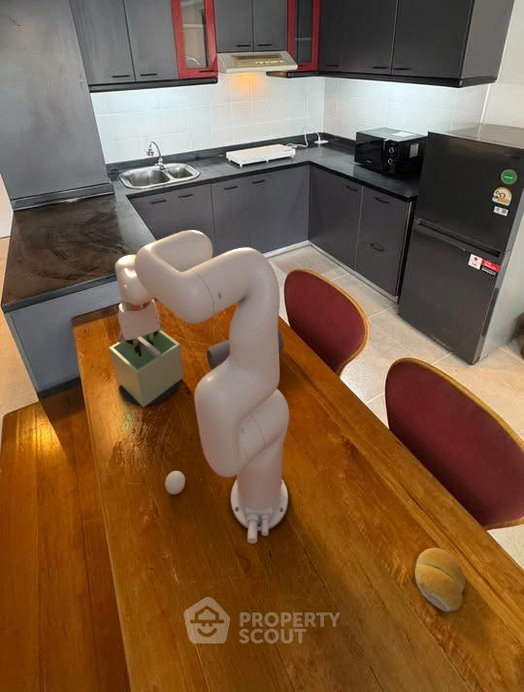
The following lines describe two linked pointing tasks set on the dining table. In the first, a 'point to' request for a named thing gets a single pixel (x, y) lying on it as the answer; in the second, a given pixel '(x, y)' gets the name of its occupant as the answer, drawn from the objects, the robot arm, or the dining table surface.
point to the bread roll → (440, 579)
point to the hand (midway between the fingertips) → (144, 350)
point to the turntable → (160, 398)
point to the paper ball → (175, 482)
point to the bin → (148, 366)
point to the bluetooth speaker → (227, 352)
